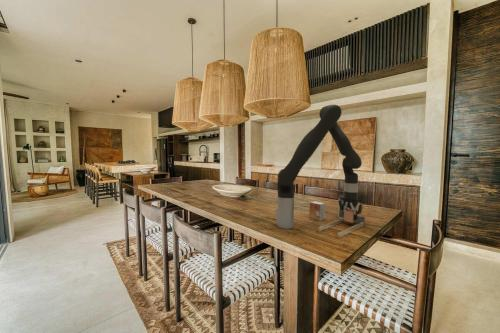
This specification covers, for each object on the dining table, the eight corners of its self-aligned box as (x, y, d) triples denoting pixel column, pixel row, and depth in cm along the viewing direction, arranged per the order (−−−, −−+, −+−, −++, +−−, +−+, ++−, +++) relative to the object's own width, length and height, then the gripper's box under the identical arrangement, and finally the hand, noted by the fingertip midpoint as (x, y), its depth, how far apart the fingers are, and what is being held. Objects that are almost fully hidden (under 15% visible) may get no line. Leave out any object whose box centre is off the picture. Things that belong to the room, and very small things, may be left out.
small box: (309, 218, 138) (309, 202, 137) (313, 216, 141) (314, 200, 141) (320, 221, 132) (320, 204, 131) (324, 219, 135) (325, 203, 135)
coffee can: (358, 220, 134) (359, 198, 133) (342, 220, 133) (343, 198, 133) (350, 215, 144) (350, 194, 143) (335, 215, 144) (335, 194, 143)
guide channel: (317, 231, 114) (318, 221, 114) (344, 220, 133) (344, 212, 133) (339, 237, 105) (339, 228, 105) (364, 225, 124) (364, 216, 124)
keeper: (343, 220, 125) (344, 210, 125) (347, 218, 128) (348, 209, 128) (352, 222, 121) (352, 212, 121) (356, 220, 124) (356, 210, 124)
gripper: (336, 189, 127) (335, 217, 128) (360, 193, 116) (359, 223, 117) (342, 188, 131) (341, 215, 132) (366, 191, 120) (365, 220, 121)
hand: (350, 219), depth 124 cm, fingers closed on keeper, 5 cm apart
